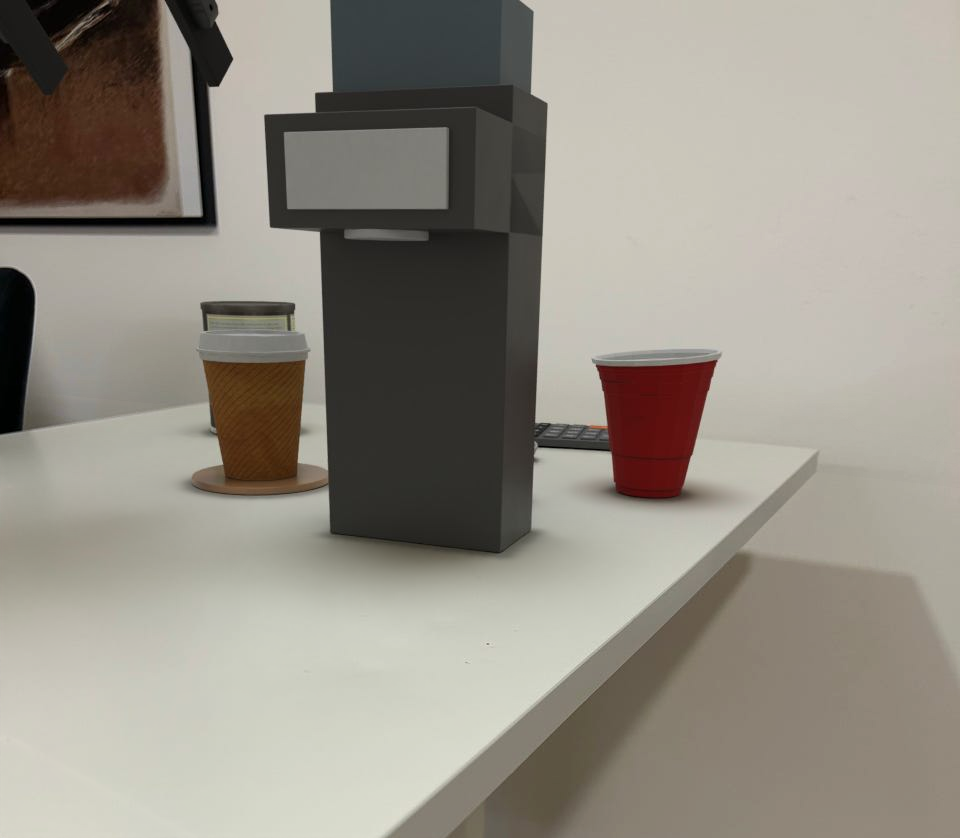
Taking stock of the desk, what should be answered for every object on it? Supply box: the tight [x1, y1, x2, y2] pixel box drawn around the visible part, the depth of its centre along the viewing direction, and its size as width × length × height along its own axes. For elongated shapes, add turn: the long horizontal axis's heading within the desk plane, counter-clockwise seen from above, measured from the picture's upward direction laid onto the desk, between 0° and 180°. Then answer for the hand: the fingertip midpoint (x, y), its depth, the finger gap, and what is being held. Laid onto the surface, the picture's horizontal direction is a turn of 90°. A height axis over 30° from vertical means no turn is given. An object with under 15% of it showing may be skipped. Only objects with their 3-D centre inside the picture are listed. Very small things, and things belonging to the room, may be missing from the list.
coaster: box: [191, 462, 329, 496], centre depth 87 cm, size 12×12×1 cm
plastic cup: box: [590, 348, 723, 499], centre depth 84 cm, size 11×11×12 cm
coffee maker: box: [263, 0, 549, 553], centre depth 63 cm, size 13×13×33 cm
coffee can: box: [199, 300, 296, 435], centre depth 111 cm, size 10×10×14 cm
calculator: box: [535, 422, 610, 450], centre depth 112 cm, size 12×1×15 cm
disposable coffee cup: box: [195, 330, 312, 481], centre depth 85 cm, size 10×10×12 cm
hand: (136, 78), depth 67 cm, fingers open, 13 cm apart
